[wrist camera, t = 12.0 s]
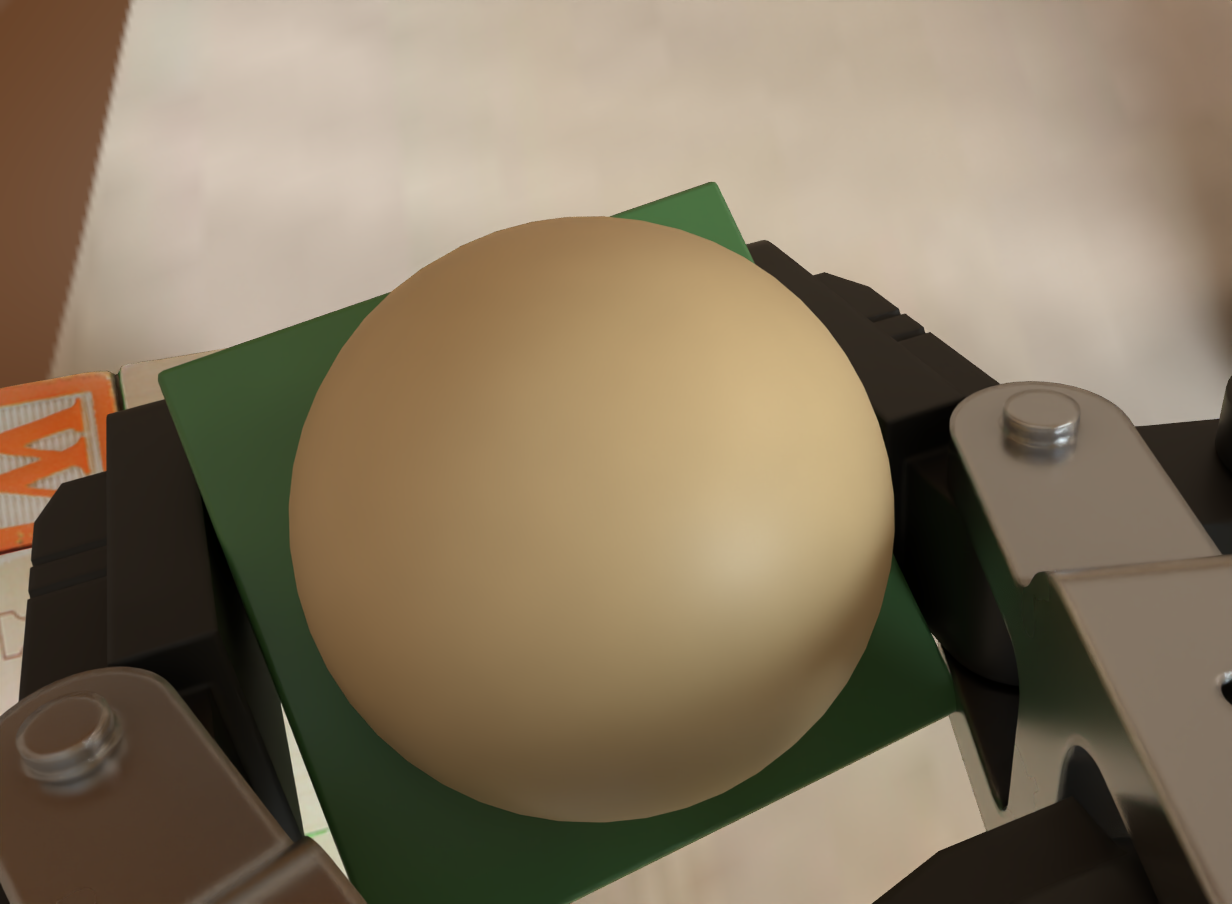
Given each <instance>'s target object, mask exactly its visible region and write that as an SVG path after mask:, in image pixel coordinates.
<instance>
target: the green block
mask: <svg viewBox="0 0 1232 904" xmlns="http://www.w3.org/2000/svg"><path fill="white" fill-rule="evenodd" d="M158 383H159V386H160V388H161V391H162V393H163V396H164V399H165V401H166V404H167V407H168V409H169V412H170V414H171V417H172V420H173V422H174V425H175V427H176V430H177V433H178V435H179V438H180V440H181V443H182V446H183V448H184V451H185V454H186V456H187V459H188V461H189V464H190V467H191V469H192V472H193V474H194V477H195V480H196V482H197V485H198V487H199V490H200V493H201V495H202V498H203V501H204V503H205V506H206V508H207V511H208V514H209V516H210V519H211V521H212V524H213V527H214V529H215V532H216V534H217V537H218V540H219V542H220V545H221V547H222V550H223V553H224V555H225V558H226V561H227V563H228V566H229V568H230V571H231V574H232V576H233V579H234V581H235V584H236V587H237V589H238V592H239V594H240V597H241V600H242V602H243V605H244V608H245V610H246V613H247V615H248V618H249V621H250V623H251V626H252V628H253V631H254V634H255V636H256V639H257V641H258V644H259V647H260V649H261V652H262V655H263V657H264V660H265V662H266V665H267V668H268V670H269V673H270V675H271V678H272V681H273V683H274V686H275V688H276V691H277V694H278V696H279V699H280V702H281V704H282V707H283V709H284V712H285V715H286V717H287V720H288V722H289V725H290V728H291V730H292V733H293V735H294V738H295V741H296V743H297V746H298V748H299V751H300V754H301V756H302V759H303V762H304V764H305V767H306V769H307V772H308V775H309V777H310V780H311V782H312V785H313V788H314V790H315V793H316V795H317V798H318V801H319V803H320V806H321V809H322V811H323V814H324V816H325V819H326V822H327V824H328V827H329V829H330V832H331V835H332V837H333V840H334V842H335V845H336V848H337V850H338V853H339V856H340V858H341V861H342V863H343V866H344V869H345V871H346V874H347V876H348V879H349V881H350V882H351V883H352V885H353V886H354V887H355V888H356V890H357V891H358V892H359V893H360V895H361V896H362V897H363V898H364V900H365V901H366V902H367V903H368V904H570V903H572V902H574V901H576V900H578V899H580V898H582V897H584V896H586V895H588V894H590V893H592V892H594V891H596V890H598V889H600V888H602V887H604V886H606V885H608V884H610V883H612V882H614V881H616V880H618V879H620V878H622V877H624V876H626V875H628V874H630V873H632V872H634V871H636V870H638V869H640V868H642V867H644V866H646V865H648V864H650V863H652V862H654V861H656V860H658V859H660V858H662V857H664V856H666V855H668V854H670V853H672V852H675V851H677V850H679V849H681V848H683V847H685V846H687V845H689V844H691V843H693V842H695V841H697V840H699V839H701V838H703V837H705V836H707V835H709V834H711V833H713V832H715V831H717V830H719V829H721V828H723V827H725V826H727V825H729V824H731V823H733V822H735V821H737V820H739V819H741V818H743V817H745V816H747V815H749V814H751V813H753V812H755V811H757V810H759V809H761V808H763V807H765V806H767V805H769V804H771V803H773V802H775V801H777V800H779V799H781V798H783V797H785V796H787V795H789V794H791V793H793V792H795V791H797V790H799V789H801V788H803V787H805V786H807V785H809V784H811V783H813V782H815V781H817V780H819V779H821V778H823V777H825V776H827V775H829V774H831V773H833V772H835V771H838V770H840V769H842V768H844V767H846V766H848V765H850V764H852V763H854V762H856V761H858V760H860V759H862V758H864V757H866V756H868V755H870V754H872V753H874V752H876V751H878V750H880V749H882V748H884V747H886V746H888V745H890V744H892V743H894V742H896V741H898V740H900V739H902V738H904V737H906V736H908V735H910V734H912V733H914V732H916V731H918V730H920V729H922V728H924V727H926V726H928V725H930V724H932V723H934V722H936V721H938V720H940V719H942V718H944V717H946V716H948V715H950V714H952V713H954V712H956V700H955V693H954V687H953V682H952V676H951V674H950V672H949V670H948V668H947V666H946V663H945V661H944V659H943V657H942V655H941V653H940V651H939V649H938V647H937V645H936V643H935V640H934V638H933V636H932V634H931V632H930V630H929V628H928V626H927V624H926V622H925V619H924V617H923V615H922V613H921V611H920V609H919V607H918V605H917V603H916V601H915V598H914V596H913V594H912V592H911V590H910V588H909V586H908V584H907V582H906V580H905V577H904V575H903V573H902V571H901V569H900V567H899V565H898V563H897V561H896V559H895V557H894V554H893V552H892V551H893V542H894V533H895V526H894V492H893V485H892V478H891V472H890V465H889V458H888V455H887V451H886V447H885V444H884V440H883V436H882V433H881V429H880V425H879V422H878V420H877V417H876V415H875V413H874V410H873V408H872V405H871V403H870V400H869V398H868V396H867V393H866V391H865V388H864V386H863V384H862V382H861V381H860V379H859V377H858V375H857V373H856V372H855V370H854V368H853V366H852V365H851V363H850V361H849V359H848V357H847V356H846V354H845V353H844V351H843V350H842V348H841V347H840V346H839V344H838V343H837V342H836V340H835V339H834V337H833V336H832V335H831V333H830V332H829V331H828V329H827V328H826V327H825V325H824V324H823V323H822V322H821V321H820V320H819V319H818V318H817V317H816V316H815V314H814V313H813V312H812V311H811V310H810V309H809V308H808V307H807V306H806V305H805V304H804V303H803V302H802V301H801V299H799V298H798V297H797V296H796V295H795V294H793V293H792V292H791V291H790V290H789V289H788V288H786V287H785V286H784V285H783V284H782V283H780V282H779V281H778V280H777V279H776V278H775V277H773V276H772V275H770V274H769V273H767V272H766V271H764V270H763V269H761V268H760V267H758V266H757V265H755V263H754V261H753V259H752V257H751V254H750V252H749V250H748V248H747V246H746V244H745V242H744V240H743V238H742V236H741V233H740V231H739V229H738V227H737V225H736V223H735V221H734V219H733V217H732V215H731V213H730V210H729V208H728V206H727V204H726V202H725V200H724V198H723V196H722V194H721V192H720V189H719V187H718V185H717V184H716V183H715V182H708V183H705V184H703V185H700V186H697V187H694V188H691V189H688V190H685V191H682V192H679V193H676V194H674V195H671V196H668V197H665V198H662V199H659V200H656V201H653V202H650V203H647V204H645V205H642V206H639V207H636V208H633V209H630V210H627V211H624V212H621V213H618V214H615V215H613V216H610V217H605V216H598V217H564V218H556V219H549V220H542V221H535V222H529V223H526V224H522V225H518V226H515V227H511V228H507V229H503V230H500V231H496V232H494V233H491V234H489V235H486V236H484V237H482V238H479V239H477V240H474V241H472V242H469V243H467V244H465V245H462V246H460V247H459V248H457V249H455V250H453V251H452V252H450V253H448V254H446V255H445V256H443V257H441V258H439V259H438V260H436V261H434V262H432V263H431V264H429V265H427V266H425V267H424V268H422V269H421V270H419V271H418V272H417V273H415V274H414V275H413V276H411V277H410V278H409V279H407V280H406V281H405V282H403V283H402V284H401V285H400V286H398V287H397V288H396V289H394V290H393V291H392V292H389V293H386V294H383V295H380V296H378V297H375V298H372V299H369V300H366V301H363V302H360V303H357V304H354V305H351V306H349V307H346V308H343V309H340V310H337V311H334V312H331V313H328V314H325V315H322V316H320V317H317V318H314V319H311V320H308V321H305V322H302V323H299V324H296V325H293V326H291V327H288V328H285V329H282V330H279V331H276V332H273V333H270V334H267V335H264V336H262V337H259V338H256V339H253V340H250V341H247V342H244V343H241V344H238V345H235V346H233V347H230V348H227V349H224V350H221V351H218V352H215V353H212V354H209V355H206V356H204V357H201V358H198V359H195V360H192V361H189V362H186V363H183V364H180V365H177V366H175V367H172V368H169V369H166V370H163V371H162V372H160V373H159V374H158Z"/></svg>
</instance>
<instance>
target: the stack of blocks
mask: <svg viewBox="0 0 1232 904" xmlns="http://www.w3.org/2000/svg"><path fill="white" fill-rule="evenodd" d="M226 349H227V348H226ZM221 350H224V349H220V350H214V351H208V352H202V353H196V354H190V355H184V356H178V357H171V358H165V359H158V360H152V361H145V362H139V363H132V364H127V365H124V366H122V367H121V369H120V371H119V373H118V374H116V375H114V374H112V373H110V372H109V371H98V372H88V373H80V374H75V375H70V376H64V377H59V378H53V379H48V380H42V381H37V382H31V383H25V384H19V385H14V386H9V387H3V388H0V716H1V715H2V714H3V713H4V712H6V711H7V710H8V709H10V708H11V707H12V706H14V705H15V704H16V703H18V700H19V689H20V677H21V666H22V655H23V643H24V632H25V620H26V609H27V599H30V595H29V592H28V586H29V574H30V568H31V567H33V565H32V562H31V551H32V540H33V528H34V522H35V520H36V519H37V518H38V516H39V515H40V513H41V512H42V510H43V509H44V508H45V506H46V505H47V503H48V502H49V501H50V499H51V498H52V496H53V495H54V493H55V492H56V491H57V489H58V488H59V486H60V485H61V483H64V482H68V481H71V480H75V479H79V478H82V477H86V476H89V475H93V474H97V473H100V472H104V471H106V417H107V415H108V414H110V413H114V412H118V411H122V410H125V409H129V408H133V407H137V406H140V405H144V404H148V403H152V402H155V401H159V400H163V399H164V396H163V393H162V391H161V388H160V386H159V383H158V374H159V373H160V372H162V371H163V370H166V369H169V368H172V367H175V366H177V365H180V364H183V363H186V362H189V361H192V360H195V359H198V358H201V357H204V356H206V355H209V354H212V353H215V352H218V351H221ZM281 707H282V704H281ZM282 713H283V718H284V724H285V729H286V735H287V740H288V746H289V751H290V757H291V763H292V768H293V774H294V779H295V785H296V790H297V796H298V801H299V807H300V812H301V818H302V824H303V829H304V835H305V836H309V837H311V838H312V839H313V840H315V841H316V842H317V843H318V844H319V845H320V846H321V847H322V848H323V849H324V850H325V851H326V853H327V854H328V855H329V856H330V857H331V858H332V860H333V861H334V862H335V863H336V865H337V866H338V867H339V868H340V870H341V871H342V872H343V873H344V875H345V876H346V877H347V878H348V876H347V874H346V871H345V869H344V866H343V863H342V861H341V858H340V856H339V853H338V850H337V848H336V845H335V842H334V840H333V837H332V835H331V832H330V829H329V827H328V824H327V822H326V819H325V816H324V814H323V811H322V809H321V806H320V803H319V801H318V798H317V795H316V793H315V790H314V788H313V785H312V782H311V780H310V777H309V775H308V772H307V769H306V767H305V764H304V762H303V759H302V756H301V754H300V751H299V748H298V746H297V743H296V741H295V738H294V735H293V733H292V730H291V728H290V725H289V722H288V720H287V717H286V715H285V712H284V709H283V707H282ZM348 880H349V879H348Z"/></svg>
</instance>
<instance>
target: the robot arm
mask: <svg viewBox="0 0 1232 904" xmlns="http://www.w3.org/2000/svg"><path fill="white" fill-rule="evenodd" d="M746 246H747V248H748V250H749V252H750V254H751V257H752V259H753V261H754V263H755V265H757V266H758V267H760V268H761V269H763V270H764V271H766V272H767V273H769V274H770V275H772V276H773V277H775V278H776V279H777V280H778V281H779V282H780V283H782V284H783V285H784V286H785V287H786V288H788V289H789V290H790V291H791V292H792V293H793V294H795V295H796V296H797V297H798V298H799V299H801V301H802V302H803V303H804V304H805V305H806V306H807V307H808V308H809V309H810V310H811V311H812V312H813V313H814V314H815V316H816V317H817V318H818V319H819V320H820V321H821V322H822V323H823V324H824V325H825V327H826V328H827V329H828V331H829V332H830V333H831V335H832V336H833V337H834V339H835V340H836V342H837V343H838V344H839V346H840V347H841V348H842V350H843V351H844V353H845V354H846V356H847V357H848V359H849V361H850V363H851V365H852V366H853V368H854V370H855V372H856V373H857V375H858V377H859V379H860V381H861V382H862V384H863V386H864V388H865V391H866V393H867V396H868V398H869V400H870V403H871V405H872V408H873V410H874V413H875V415H876V417H877V420H878V422H879V425H880V429H881V433H882V436H883V440H884V444H885V447H886V451H887V455H888V458H889V465H890V472H891V478H892V485H893V492H894V526H895V533H894V542H893V551H892V552H893V554H894V557H895V559H896V561H897V563H898V565H899V567H900V569H901V571H902V573H903V575H904V577H905V580H906V582H907V584H908V586H909V588H910V590H911V592H912V594H913V596H914V598H915V601H916V603H917V605H918V607H919V609H920V611H921V613H922V615H923V617H924V619H925V622H926V624H927V626H928V628H929V630H930V632H931V633H932V634H933V635H934V636H935V638H936V639H937V640H938V649H939V651H940V653H941V655H942V657H943V659H944V661H945V663H946V666H947V668H948V670H949V672H950V674H951V676H952V682H953V687H954V693H955V700H956V712H954V713H952V714H950V715H949V718H950V721H951V724H952V727H953V730H954V733H955V737H956V740H957V743H958V746H959V749H960V752H961V755H962V758H963V761H964V764H965V767H966V771H967V774H968V777H969V780H970V783H971V786H972V789H973V792H974V795H975V798H976V801H977V804H978V808H979V811H980V814H981V817H982V820H983V823H984V826H985V829H986V832H984V833H982V834H979V835H977V836H974V837H972V838H969V839H967V840H965V841H962V842H960V843H957V844H955V845H953V846H950V847H948V848H945V849H943V850H940V851H938V852H937V853H936V854H935V855H933V856H932V857H931V858H929V859H928V860H927V861H926V862H924V863H923V864H922V865H921V866H919V867H918V868H917V869H915V870H914V871H913V872H912V873H910V874H909V875H908V876H907V877H905V878H904V879H903V880H901V881H900V882H899V883H898V884H896V885H895V886H894V887H893V888H891V889H890V890H889V891H887V892H886V893H885V894H884V895H882V896H881V897H880V898H879V899H877V900H876V901H875V902H873V903H872V904H1232V376H1231V377H1230V379H1229V380H1228V383H1227V386H1226V391H1225V395H1224V400H1223V405H1222V410H1221V415H1220V419H1212V420H1202V421H1192V422H1181V423H1171V424H1160V425H1150V426H1136V427H1134V425H1133V424H1132V422H1131V421H1130V419H1129V418H1128V417H1127V416H1126V414H1125V413H1124V412H1123V411H1122V410H1121V409H1120V408H1119V407H1117V406H1116V405H1115V404H1113V403H1112V402H1110V401H1109V400H1107V399H1105V398H1103V397H1102V396H1099V395H1097V394H1095V393H1092V392H1090V391H1087V390H1084V389H1081V388H1077V387H1074V386H1069V385H1064V384H1059V383H1051V382H1035V381H1026V382H1012V383H1006V384H999V383H998V382H997V381H995V380H994V379H993V378H991V377H990V376H989V375H987V374H986V373H985V372H983V371H982V370H981V369H979V368H978V367H976V366H975V365H974V364H972V363H971V362H970V361H968V360H967V359H966V358H964V357H963V356H962V355H960V354H959V353H958V352H956V351H955V350H954V349H952V348H951V347H950V346H948V345H947V344H945V343H944V342H943V341H941V340H940V339H939V338H937V337H936V336H935V335H933V334H932V333H931V332H929V333H925V331H924V327H923V326H921V325H920V324H919V323H917V322H916V321H914V320H913V319H912V318H910V317H909V316H908V315H906V314H902V315H901V314H900V311H899V309H898V308H897V307H896V306H894V305H893V304H892V303H890V302H889V301H888V300H886V299H885V298H883V297H882V296H881V295H879V294H878V293H877V292H875V291H874V290H873V289H871V288H870V287H868V286H865V285H862V284H859V283H856V282H853V281H850V280H847V279H844V278H840V277H837V276H834V275H831V274H828V273H825V272H824V273H820V274H817V275H812V274H811V273H809V272H808V271H807V270H805V269H804V268H803V267H802V266H800V265H799V264H798V263H797V262H795V261H794V260H793V259H791V258H790V257H789V256H788V255H786V254H785V253H784V252H783V251H781V250H780V249H779V248H777V247H776V246H775V245H774V244H772V243H771V242H769V241H766V240H762V241H758V242H754V243H750V244H747V245H746ZM31 562H32V565H33V567H31V568H30V574H29V586H28V592H29V595H30V599H27V609H26V620H25V632H24V643H23V655H22V666H21V677H20V689H19V700H18V703H16V704H15V705H14V706H12V707H11V708H10V709H8V710H7V711H6V712H4V713H3V714H2V715H1V716H0V904H368V903H367V902H366V901H365V900H364V898H363V897H362V896H361V895H360V893H359V892H358V891H357V890H356V888H355V887H354V886H353V885H352V883H351V882H350V881H349V880H348V878H347V877H346V876H345V875H344V873H343V872H342V871H341V870H340V868H339V867H338V866H337V865H336V863H335V862H334V861H333V860H332V858H331V857H330V856H329V855H328V854H327V853H326V851H325V850H324V849H323V848H322V847H321V846H320V845H319V844H318V843H317V842H316V841H315V840H313V839H312V838H311V837H309V836H305V835H304V829H303V824H302V818H301V812H300V807H299V801H298V796H297V790H296V785H295V779H294V774H293V768H292V763H291V757H290V751H289V746H288V740H287V735H286V729H285V724H284V718H283V713H282V707H281V702H280V699H279V696H278V694H277V691H276V688H275V686H274V683H273V681H272V678H271V675H270V673H269V670H268V668H267V665H266V662H265V660H264V657H263V655H262V652H261V649H260V647H259V644H258V641H257V639H256V636H255V634H254V631H253V628H252V626H251V623H250V621H249V618H248V615H247V613H246V610H245V608H244V605H243V602H242V600H241V597H240V594H239V592H238V589H237V587H236V584H235V581H234V579H233V576H232V574H231V571H230V568H229V566H228V563H227V561H226V558H225V555H224V553H223V550H222V547H221V545H220V542H219V540H218V537H217V534H216V532H215V529H214V527H213V524H212V521H211V519H210V516H209V514H208V511H207V508H206V506H205V503H204V501H203V498H202V495H201V493H200V490H199V487H198V485H197V482H196V480H195V477H194V474H193V472H192V469H191V467H190V464H189V461H188V459H187V456H186V454H185V451H184V448H183V446H182V443H181V440H180V438H179V435H178V433H177V430H176V427H175V425H174V422H173V420H172V417H171V414H170V412H169V409H168V407H167V404H166V401H165V399H163V400H159V401H155V402H152V403H148V404H144V405H140V406H137V407H133V408H129V409H125V410H122V411H118V412H114V413H110V414H108V415H107V417H106V471H104V472H100V473H97V474H93V475H89V476H86V477H82V478H79V479H75V480H71V481H68V482H64V483H61V485H60V486H59V488H58V489H57V491H56V492H55V493H54V495H53V496H52V498H51V499H50V501H49V502H48V503H47V505H46V506H45V508H44V509H43V510H42V512H41V513H40V515H39V516H38V518H37V519H36V520H35V522H34V528H33V540H32V551H31Z"/></svg>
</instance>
